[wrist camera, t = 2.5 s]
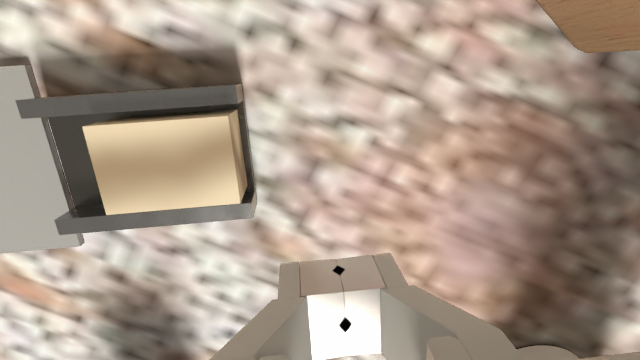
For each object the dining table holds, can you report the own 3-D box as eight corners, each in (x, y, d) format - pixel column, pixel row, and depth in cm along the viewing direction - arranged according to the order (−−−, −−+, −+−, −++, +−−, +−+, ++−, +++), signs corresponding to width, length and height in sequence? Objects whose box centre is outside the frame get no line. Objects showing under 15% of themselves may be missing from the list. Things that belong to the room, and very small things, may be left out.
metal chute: (257, 202, 29) (253, 218, 26) (83, 217, 28) (59, 235, 25) (241, 83, 26) (235, 85, 23) (47, 96, 25) (15, 100, 22)
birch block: (247, 185, 28) (240, 203, 24) (131, 194, 27) (106, 215, 24) (237, 109, 26) (227, 116, 22) (113, 117, 25) (82, 126, 22)
